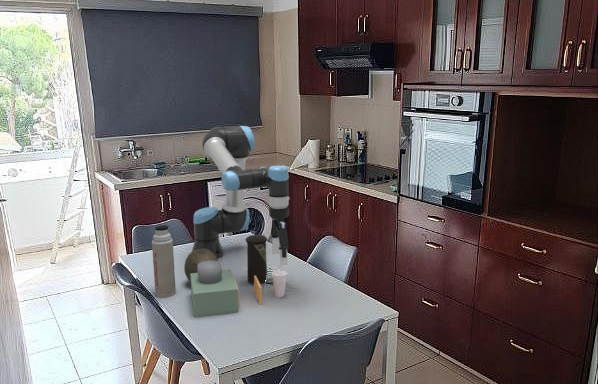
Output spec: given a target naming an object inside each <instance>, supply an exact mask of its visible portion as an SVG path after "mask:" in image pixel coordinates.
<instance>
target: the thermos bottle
mask: <svg viewBox="0 0 598 384" xmlns="http://www.w3.org/2000/svg"><path fill="white" fill-rule="evenodd" d="M154 229H155V231H154V232H155V233H154V234H153V235H152V236H153V237H152V240H151V248H152V249H151V250H152V262H153V278H154V279H153V281H154V291H155V292H154V294H155V296H156V297H159V298H168V297H172V296H174V295H176V293H177V288H176V274H175V273H176V272H175V256H174V239H173V238H172V236H171V233H170V232H169V226H168V225H166V224H165V225H157V226H155V228H154Z"/></svg>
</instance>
